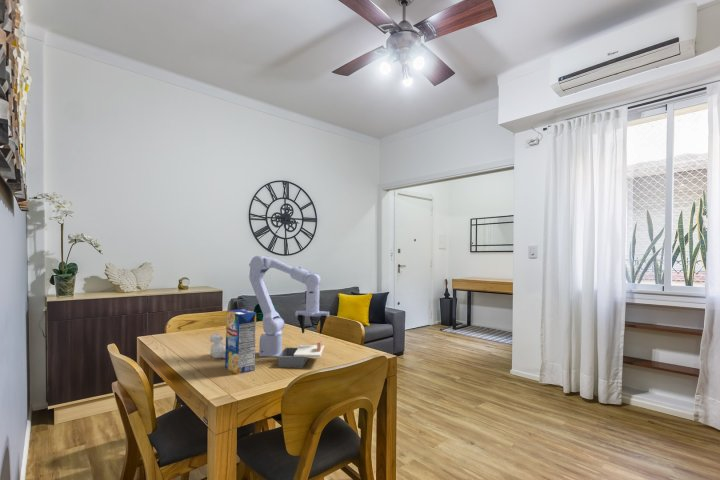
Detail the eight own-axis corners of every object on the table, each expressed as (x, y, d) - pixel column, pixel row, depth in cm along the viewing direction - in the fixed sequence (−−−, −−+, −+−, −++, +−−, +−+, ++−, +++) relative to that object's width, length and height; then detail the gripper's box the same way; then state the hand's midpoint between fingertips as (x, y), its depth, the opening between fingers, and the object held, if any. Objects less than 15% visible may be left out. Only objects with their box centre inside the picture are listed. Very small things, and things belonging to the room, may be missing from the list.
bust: (213, 359, 158) (197, 341, 153) (227, 346, 162) (212, 328, 157) (223, 366, 149) (206, 347, 144) (237, 352, 153) (222, 333, 148)
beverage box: (237, 374, 133) (239, 314, 133) (224, 367, 141) (226, 310, 141) (254, 370, 137) (256, 312, 138) (241, 363, 145) (242, 308, 146)
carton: (277, 367, 142) (277, 356, 142) (285, 356, 156) (285, 347, 156) (302, 367, 142) (303, 357, 142) (308, 357, 156) (308, 347, 156)
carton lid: (293, 356, 142) (293, 345, 142) (300, 346, 156) (300, 336, 156) (319, 357, 141) (320, 346, 142) (324, 347, 156) (324, 337, 156)
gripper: (294, 302, 153) (293, 334, 152) (328, 303, 153) (327, 335, 152) (297, 300, 160) (296, 330, 160) (330, 300, 160) (329, 331, 159)
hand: (311, 332), depth 156 cm, fingers open, 7 cm apart
